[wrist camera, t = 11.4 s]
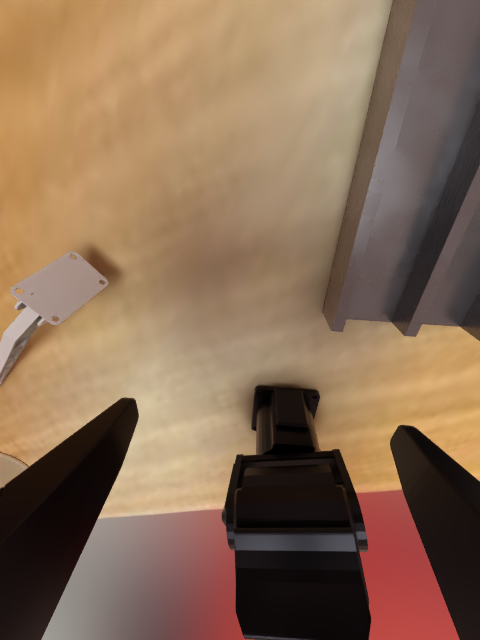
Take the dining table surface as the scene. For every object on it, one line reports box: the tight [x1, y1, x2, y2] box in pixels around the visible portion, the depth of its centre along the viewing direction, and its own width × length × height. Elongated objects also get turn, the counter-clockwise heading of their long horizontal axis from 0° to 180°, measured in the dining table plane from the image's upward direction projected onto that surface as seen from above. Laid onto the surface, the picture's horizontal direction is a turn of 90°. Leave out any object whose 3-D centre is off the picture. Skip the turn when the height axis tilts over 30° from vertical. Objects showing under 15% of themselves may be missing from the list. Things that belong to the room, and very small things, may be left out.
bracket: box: [0, 251, 108, 385], centre depth 22 cm, size 3×21×10 cm, turn 130°
